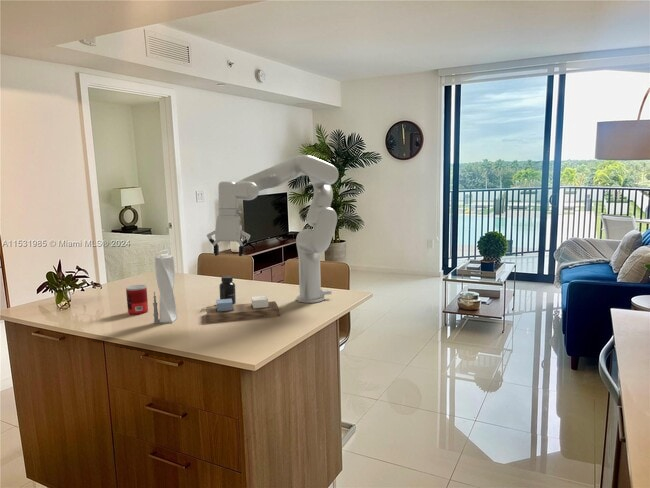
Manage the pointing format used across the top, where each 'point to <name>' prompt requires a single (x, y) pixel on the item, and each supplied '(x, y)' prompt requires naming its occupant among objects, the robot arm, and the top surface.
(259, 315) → the wooden board
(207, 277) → the top surface
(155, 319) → the skyscraper
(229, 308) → the light blue square block
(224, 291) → the supplement bottle
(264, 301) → the white square block
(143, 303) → the canned food
